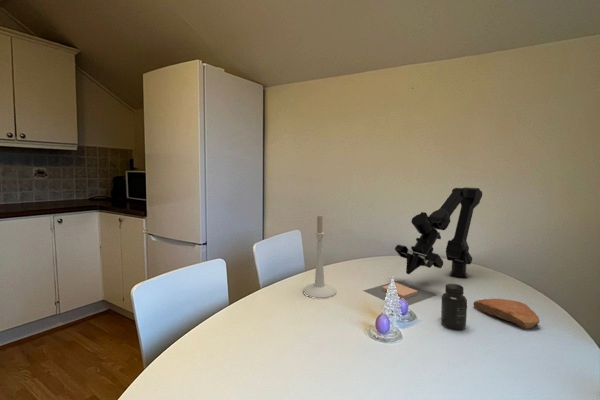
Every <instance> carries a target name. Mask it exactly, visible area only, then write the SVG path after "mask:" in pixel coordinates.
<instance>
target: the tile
mask: <svg viewBox="0 0 600 400" xmlns="http://www.w3.org/2000/svg"><path fill="white" fill-rule="evenodd" d="M388 286H389V285H387V286H383V287H382V291H384V292H386V293H387V289H388ZM395 286H396V289H397V294H398V296H399V297H400V298H404V299H407V298H410V297H413V296H416V295H418V291H417V290H414V289H411V288H409V287H406V286H403V285H401V284H398V283H395Z"/></svg>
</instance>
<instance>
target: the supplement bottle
mask: <svg viewBox="0 0 600 400" xmlns="http://www.w3.org/2000/svg"><path fill="white" fill-rule="evenodd" d="M464 289H465V288H464V287H463V286H462V285H461V284H457V283H456V284H455V283H447V284H445V289H444V290H445V292H444V293H443V294H442V295H441V303H440V304H441V306H440V307H441V311H440V312H441V313H440V314H441V315H440V316H441V317H440V319H441V320H440V323H441V324H442V326H443V327H445V328H447V329H450V330H454V331H461V330H464V329H465V328H466V327H467V316H468V315H467V312H468V311H467V310H468V309H467V308H468V300H467V296H466V295H464V292H465V291H464Z"/></svg>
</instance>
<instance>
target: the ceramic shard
mask: <svg viewBox="0 0 600 400" xmlns="http://www.w3.org/2000/svg"><path fill="white" fill-rule="evenodd" d="M472 304H473V307H474V309H475V310H477V311H480V312H483V313H485V314H488V315H490V316H493V317H496V318H497V317H498V318H499V319H501V320H504V321H507V322H511V323H512V324H515V325H517V326H518V327H520V328H521V329H525V330H528V329H532V328H534V327H535V326H538V324H539V323H540V318H539V315H537V313H536V312H534V311H533V310H532V309H531V307H530V306H528V304H525V303H523V302H520V301H517V300H511V299H506V298H505V299H504V298H503V299H502V298H488V299H487V298H485V299H478V300H474V301H473V303H472Z"/></svg>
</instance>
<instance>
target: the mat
mask: <svg viewBox="0 0 600 400" xmlns="http://www.w3.org/2000/svg"><path fill="white" fill-rule="evenodd" d="M394 282H395V283H398V284H401V285H403V286H406V287H409V288H411V289H414V290H417V291H418V295H416V296H413V297H410V298H407V299H405V300H406V301H407V303H408V306H412V305H414V304H417V303H420V302H423V301H425V300H427V299H431V298H434V297H435V296H438V295H437V294H436V293H433V292H430V291H427V290H425V289H423V288H419V287H416V286H415V285H412V284H408V283H406V282H403V281H400V280H395V281H394ZM390 283H391V282H388V283H384V284H381V285H378V286H374V287H371V288H367V289H364V290H362V292H365V293H367V294H369V295H372V296H374V297H376V298H378V299H380V300H382V301H384V300H385V297H386V292H384V291H382V287H383V286H387V285H389V284H390ZM408 306H407V307H408Z"/></svg>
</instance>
